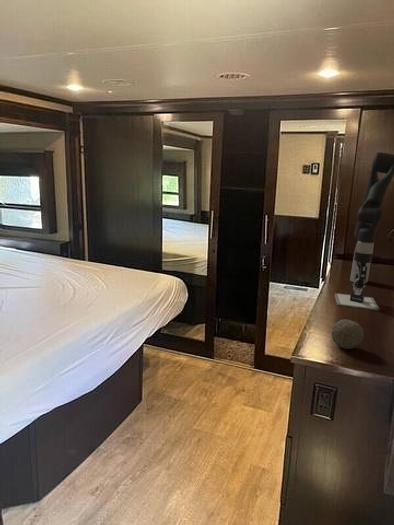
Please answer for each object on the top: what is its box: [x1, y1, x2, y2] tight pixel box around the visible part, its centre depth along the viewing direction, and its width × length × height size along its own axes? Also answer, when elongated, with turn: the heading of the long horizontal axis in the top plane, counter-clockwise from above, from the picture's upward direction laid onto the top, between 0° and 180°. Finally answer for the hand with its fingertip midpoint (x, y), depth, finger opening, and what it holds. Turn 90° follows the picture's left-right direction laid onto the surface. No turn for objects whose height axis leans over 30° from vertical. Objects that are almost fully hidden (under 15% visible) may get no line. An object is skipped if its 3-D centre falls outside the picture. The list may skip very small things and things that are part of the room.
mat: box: [334, 292, 381, 312], centre depth 187 cm, size 18×18×1 cm
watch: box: [350, 279, 366, 303], centre depth 186 cm, size 6×8×11 cm
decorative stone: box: [331, 318, 365, 350], centre depth 136 cm, size 10×8×10 cm
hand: (358, 285), depth 186 cm, fingers open, 8 cm apart
